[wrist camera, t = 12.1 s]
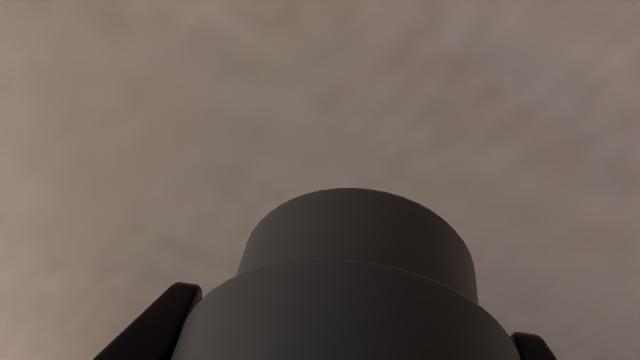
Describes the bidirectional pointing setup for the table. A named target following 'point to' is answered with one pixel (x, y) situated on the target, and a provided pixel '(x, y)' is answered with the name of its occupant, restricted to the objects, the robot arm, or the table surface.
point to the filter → (347, 288)
